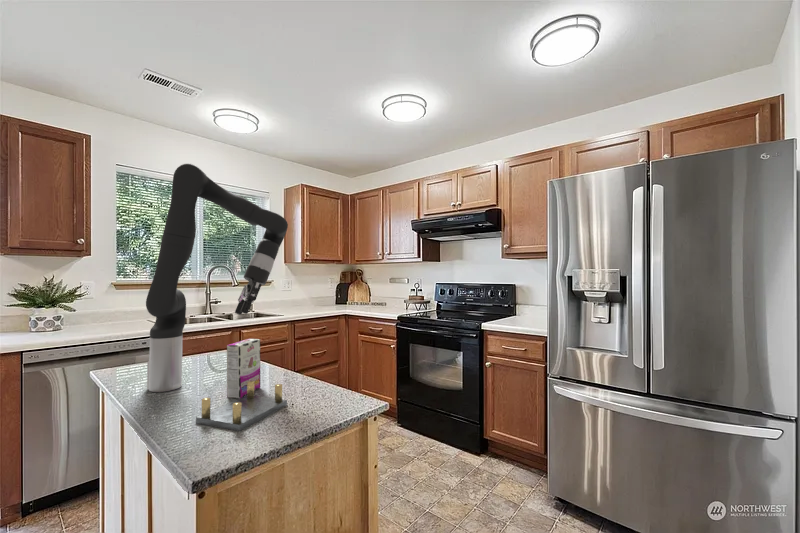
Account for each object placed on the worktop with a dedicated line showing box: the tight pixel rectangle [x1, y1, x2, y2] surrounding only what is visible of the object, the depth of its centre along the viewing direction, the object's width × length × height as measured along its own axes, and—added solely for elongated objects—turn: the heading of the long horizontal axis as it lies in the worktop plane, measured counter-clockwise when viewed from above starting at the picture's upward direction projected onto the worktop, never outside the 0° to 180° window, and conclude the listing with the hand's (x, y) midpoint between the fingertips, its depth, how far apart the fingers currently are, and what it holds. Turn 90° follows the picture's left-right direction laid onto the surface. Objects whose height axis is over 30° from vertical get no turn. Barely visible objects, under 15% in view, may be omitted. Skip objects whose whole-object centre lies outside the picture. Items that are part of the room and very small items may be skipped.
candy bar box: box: [226, 338, 261, 399], centre depth 116 cm, size 11×5×16 cm, turn 168°
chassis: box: [195, 381, 288, 432], centre depth 99 cm, size 14×18×6 cm
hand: (240, 313), depth 119 cm, fingers open, 8 cm apart
